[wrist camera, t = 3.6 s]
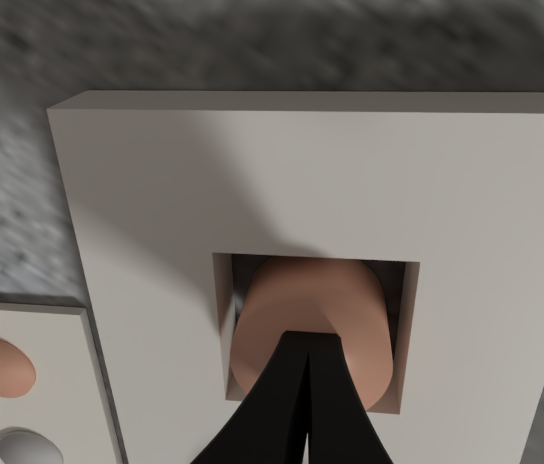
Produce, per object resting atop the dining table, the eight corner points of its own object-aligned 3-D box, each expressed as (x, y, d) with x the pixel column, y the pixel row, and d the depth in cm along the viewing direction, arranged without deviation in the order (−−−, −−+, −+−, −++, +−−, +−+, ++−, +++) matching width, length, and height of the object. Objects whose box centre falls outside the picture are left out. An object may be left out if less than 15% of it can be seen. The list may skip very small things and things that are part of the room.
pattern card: (145, 556, 23) (140, 570, 22) (4, 539, 23) (-4, 552, 23) (85, 307, 16) (77, 319, 16) (-106, 296, 17) (-121, 306, 16)
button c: (379, 362, 15) (385, 429, 13) (250, 353, 15) (234, 416, 13) (391, 248, 13) (401, 303, 11) (243, 242, 14) (224, 293, 11)
